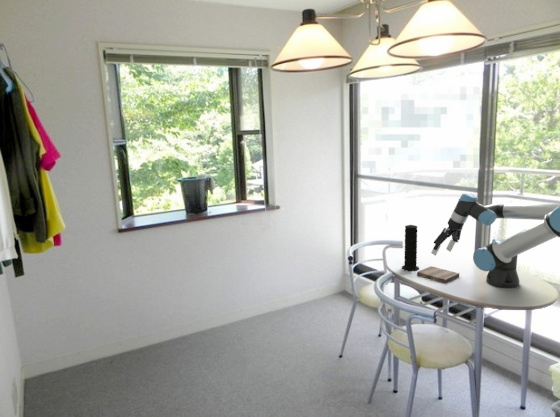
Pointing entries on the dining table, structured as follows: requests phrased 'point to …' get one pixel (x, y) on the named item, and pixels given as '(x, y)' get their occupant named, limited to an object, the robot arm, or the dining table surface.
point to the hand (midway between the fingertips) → (441, 252)
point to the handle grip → (410, 248)
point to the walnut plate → (438, 274)
